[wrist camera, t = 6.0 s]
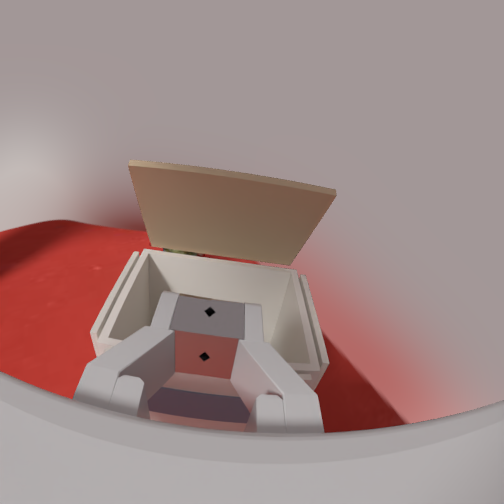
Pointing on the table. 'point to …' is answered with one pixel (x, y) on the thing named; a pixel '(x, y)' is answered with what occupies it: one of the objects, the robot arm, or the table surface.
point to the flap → (227, 211)
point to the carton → (222, 288)
